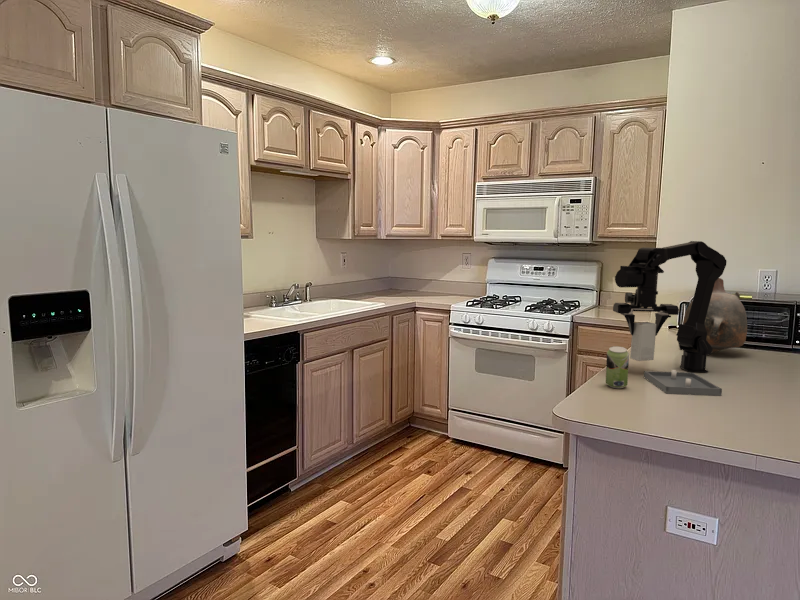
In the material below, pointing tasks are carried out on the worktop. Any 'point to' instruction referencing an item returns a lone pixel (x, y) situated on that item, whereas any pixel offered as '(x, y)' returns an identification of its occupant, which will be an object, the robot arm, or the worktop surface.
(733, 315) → the jug
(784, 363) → the worktop surface
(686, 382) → the tray
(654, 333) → the skincare box
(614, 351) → the beverage can
